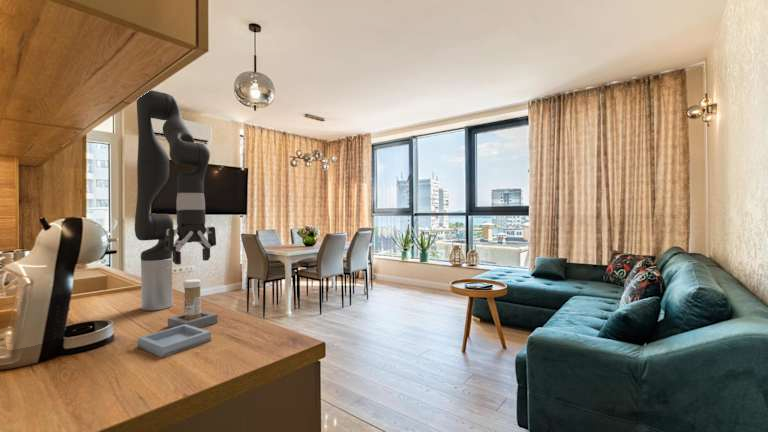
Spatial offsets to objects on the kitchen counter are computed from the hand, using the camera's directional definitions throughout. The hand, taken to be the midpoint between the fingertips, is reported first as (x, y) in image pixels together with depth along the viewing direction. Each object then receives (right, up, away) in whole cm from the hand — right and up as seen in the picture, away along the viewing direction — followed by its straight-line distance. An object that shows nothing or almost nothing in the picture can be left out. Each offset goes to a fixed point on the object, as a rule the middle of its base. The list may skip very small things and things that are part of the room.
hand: (192, 262), depth 104 cm
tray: (+4, -19, -15) cm, 24 cm away
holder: (0, -19, 0) cm, 19 cm away
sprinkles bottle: (0, -19, 0) cm, 19 cm away
